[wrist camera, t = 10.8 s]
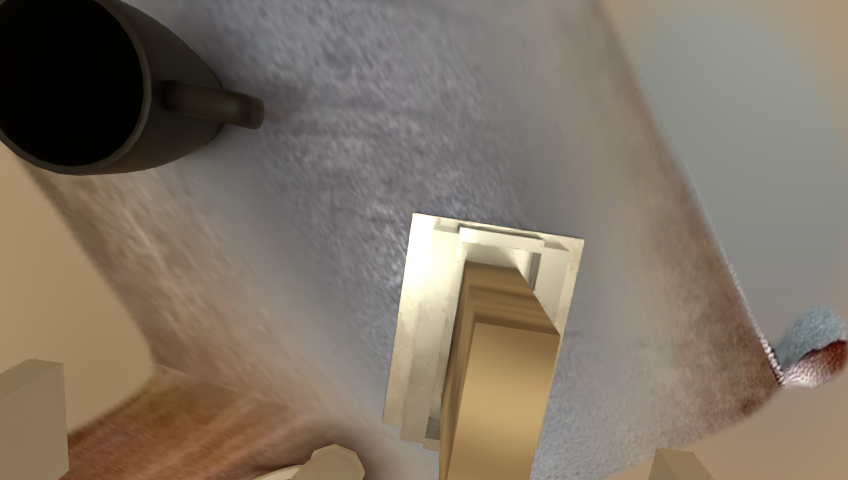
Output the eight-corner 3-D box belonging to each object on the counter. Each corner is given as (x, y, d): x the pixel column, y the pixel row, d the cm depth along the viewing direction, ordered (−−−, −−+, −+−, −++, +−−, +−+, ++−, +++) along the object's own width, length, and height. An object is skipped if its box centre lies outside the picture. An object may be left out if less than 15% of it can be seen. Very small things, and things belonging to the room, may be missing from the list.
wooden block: (464, 260, 29) (475, 322, 18) (518, 268, 29) (560, 335, 18) (440, 399, 31) (437, 529, 20) (491, 408, 31) (514, 542, 20)
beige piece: (413, 212, 29) (410, 217, 27) (582, 238, 29) (595, 246, 26) (383, 419, 32) (377, 442, 30) (536, 445, 32) (544, 470, 29)
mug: (297, 192, 29) (227, 209, 20) (117, 155, 30) (-35, 155, 20) (316, 61, 28) (249, 14, 18) (126, 23, 28) (-34, -44, 19)
